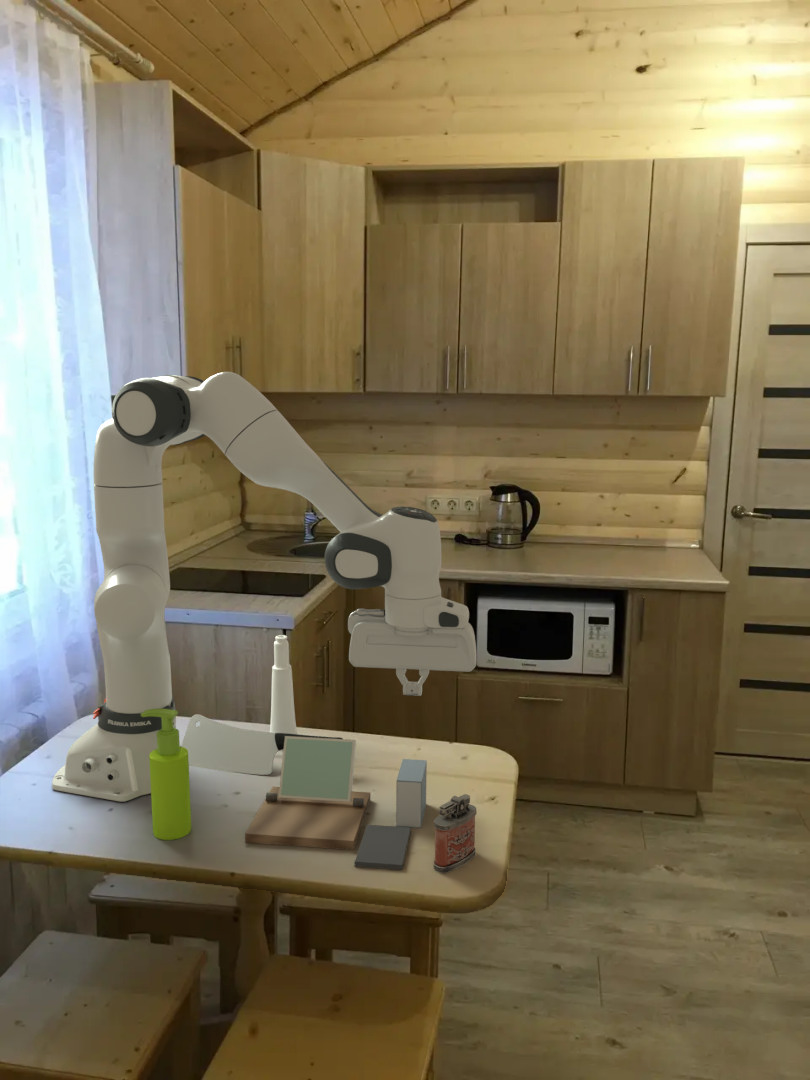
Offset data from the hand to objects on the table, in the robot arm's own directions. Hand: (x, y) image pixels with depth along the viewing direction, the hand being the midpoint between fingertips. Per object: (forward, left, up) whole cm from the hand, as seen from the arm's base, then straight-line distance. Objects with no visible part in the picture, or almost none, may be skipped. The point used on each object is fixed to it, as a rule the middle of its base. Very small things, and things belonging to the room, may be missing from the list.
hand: (412, 694), depth 143 cm
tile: (-16, -1, -19) cm, 25 cm away
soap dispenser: (-38, -10, -21) cm, 44 cm away
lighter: (+8, -13, -21) cm, 26 cm away
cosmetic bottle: (-28, +24, -21) cm, 43 cm away
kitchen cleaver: (-30, +10, -21) cm, 38 cm away
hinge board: (-16, -4, -21) cm, 27 cm away
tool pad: (-3, -11, -21) cm, 24 cm away
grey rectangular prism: (0, 0, -21) cm, 21 cm away
